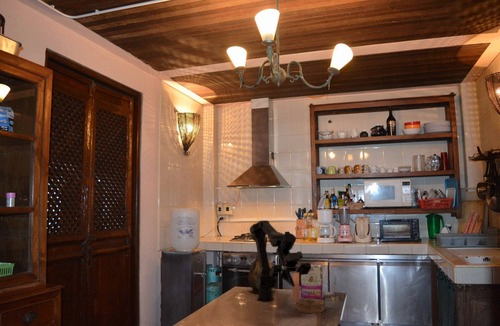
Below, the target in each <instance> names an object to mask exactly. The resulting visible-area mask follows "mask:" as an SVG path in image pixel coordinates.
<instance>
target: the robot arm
mask: <svg viewBox="0 0 500 326" xmlns="http://www.w3.org/2000/svg"><path fill="white" fill-rule="evenodd" d="M249 234H250V235H251V239H252V240H254V241H255V246H256V247H255V248H256V251H257V257H258V259H259V264H260V271H259V273H258V279H257V281H256V287H257V288H259V294H258V298H256V300H257V301H262V302H270V301H272V300H274V299H275V298H274V291H273V288H275V286H276V281H277V277H278V276H279V274H280V276H279V277H280V279H283V280H284V281H286V283H288V284H289V285H290V286H291V287H292V286H293V287H294V282H293V280H292V275H291V273H292V272H299V287H301V275H306V274H308V273H309V271H310V269H311V265H312V264H311V263H310V262H301V263H300V264H299V262H298V261H300V260H301V259H303V258H304V256H303V253H302V251H297V252H291V251H290V250H292V249H293V247H294V245H295V244H296V241H297V236H296V235H294V234H293V233H291V232H290V231H285V232H284V233H283V232H281V231H278V230H276V228H275V227H273V226H272V224H271V223H270V221H269V220H260V221H258V222H255V223H253V224H252V225H251V226H250V228H249ZM265 237H266V238H269V243H270V246H272V248H276V249H275V250H276V252H275V256H278V258H279V260H280V261H279V264H272V265H273V266H272V268H270V267H269V262H268V258H269V257H268V253H267V246H265V240H264V239H265ZM298 264H299V265H298ZM297 265H298V266H297ZM275 277H276V278H275Z"/></svg>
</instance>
